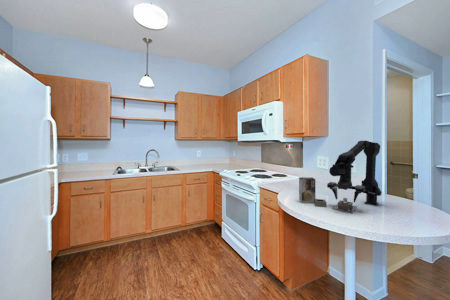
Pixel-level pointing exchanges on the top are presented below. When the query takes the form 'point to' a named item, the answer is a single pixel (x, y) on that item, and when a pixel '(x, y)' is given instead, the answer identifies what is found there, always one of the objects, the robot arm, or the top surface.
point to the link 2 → (345, 205)
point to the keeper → (345, 209)
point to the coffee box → (306, 189)
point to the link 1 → (320, 203)
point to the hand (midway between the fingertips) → (345, 200)
